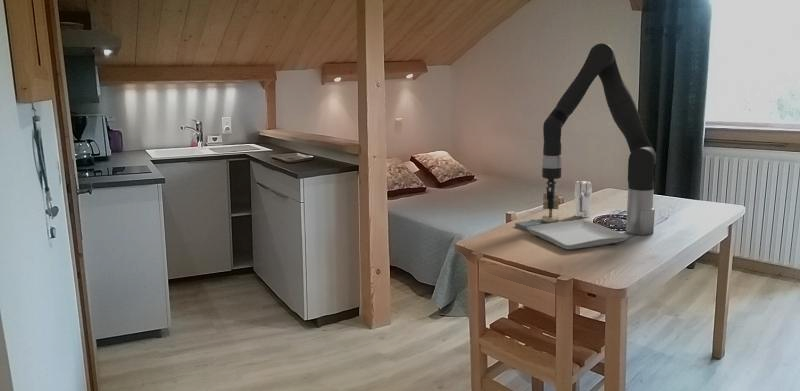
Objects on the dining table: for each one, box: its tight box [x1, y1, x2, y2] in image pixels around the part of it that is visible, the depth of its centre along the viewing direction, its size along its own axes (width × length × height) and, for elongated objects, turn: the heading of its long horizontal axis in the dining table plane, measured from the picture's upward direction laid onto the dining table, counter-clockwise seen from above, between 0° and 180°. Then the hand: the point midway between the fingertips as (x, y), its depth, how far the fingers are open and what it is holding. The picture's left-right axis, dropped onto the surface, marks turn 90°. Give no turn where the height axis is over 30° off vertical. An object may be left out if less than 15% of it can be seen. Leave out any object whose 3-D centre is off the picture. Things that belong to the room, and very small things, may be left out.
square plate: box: [526, 219, 629, 250], centre depth 236 cm, size 27×27×4 cm
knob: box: [529, 193, 560, 223], centre depth 256 cm, size 6×11×11 cm, turn 78°
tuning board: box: [514, 218, 565, 232], centre depth 255 cm, size 12×18×2 cm
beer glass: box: [574, 180, 593, 218], centre depth 270 cm, size 7×7×15 cm
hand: (550, 207), depth 256 cm, fingers closed on knob, 2 cm apart
